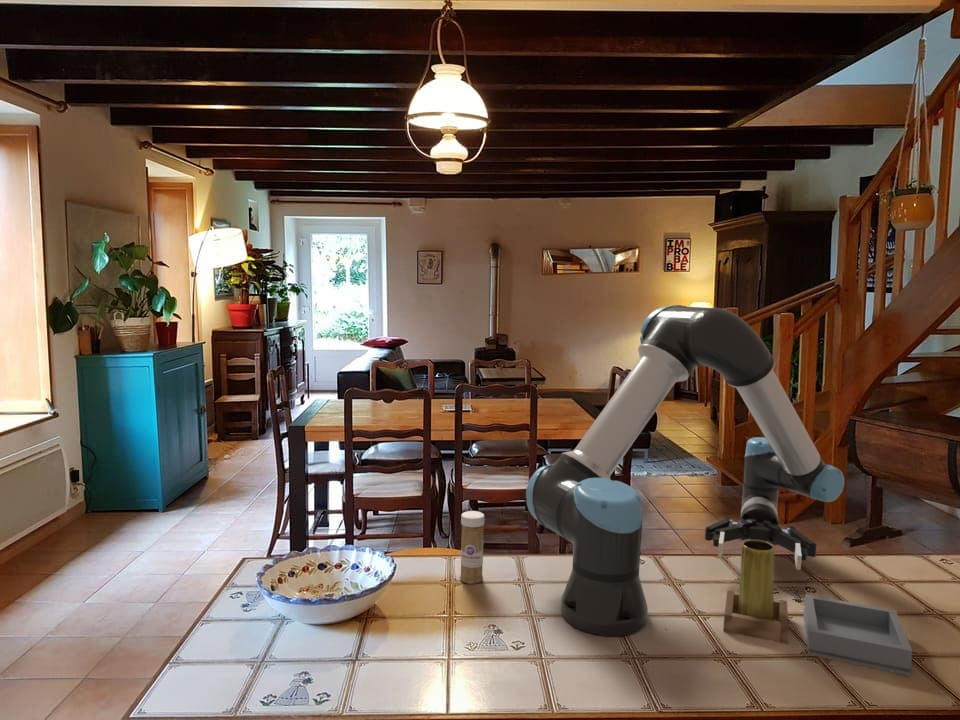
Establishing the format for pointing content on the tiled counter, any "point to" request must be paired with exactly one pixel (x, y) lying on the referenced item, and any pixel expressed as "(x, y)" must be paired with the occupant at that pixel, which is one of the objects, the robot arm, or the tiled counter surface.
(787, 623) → the socket
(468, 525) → the sprinkles bottle
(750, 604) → the vase
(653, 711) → the tiled counter surface
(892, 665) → the tray
